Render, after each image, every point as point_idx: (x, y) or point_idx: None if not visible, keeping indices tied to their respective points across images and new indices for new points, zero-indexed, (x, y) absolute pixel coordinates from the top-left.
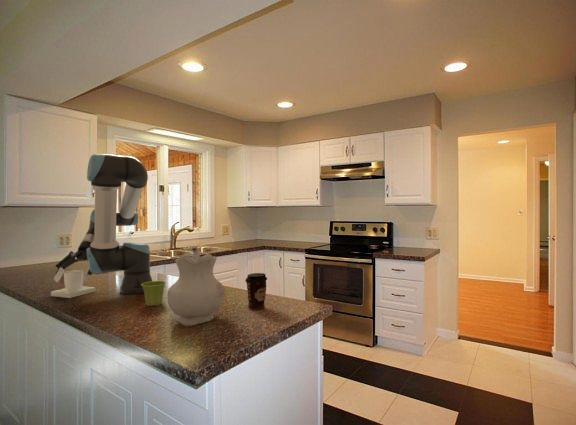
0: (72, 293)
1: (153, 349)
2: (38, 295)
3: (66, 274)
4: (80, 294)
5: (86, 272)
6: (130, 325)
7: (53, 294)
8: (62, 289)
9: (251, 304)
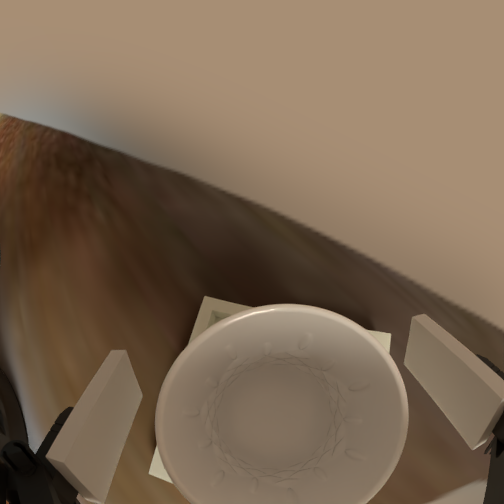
0: (199, 312)
1: (4, 116)
2: None
3: (297, 313)
4: None
5: (87, 397)
6: (5, 142)
7: None
8: None
9: None
